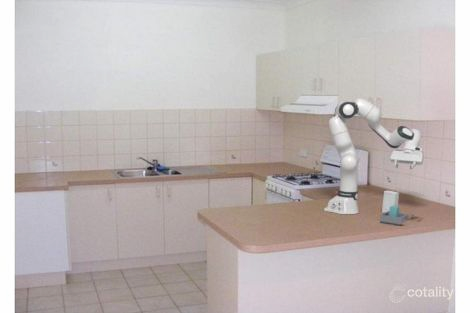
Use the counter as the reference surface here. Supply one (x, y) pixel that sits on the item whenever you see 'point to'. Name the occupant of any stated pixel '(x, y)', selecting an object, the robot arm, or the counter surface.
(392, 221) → the bin
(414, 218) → the brown wooden lid
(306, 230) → the counter surface
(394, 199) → the skincare box
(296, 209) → the counter surface
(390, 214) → the strut
